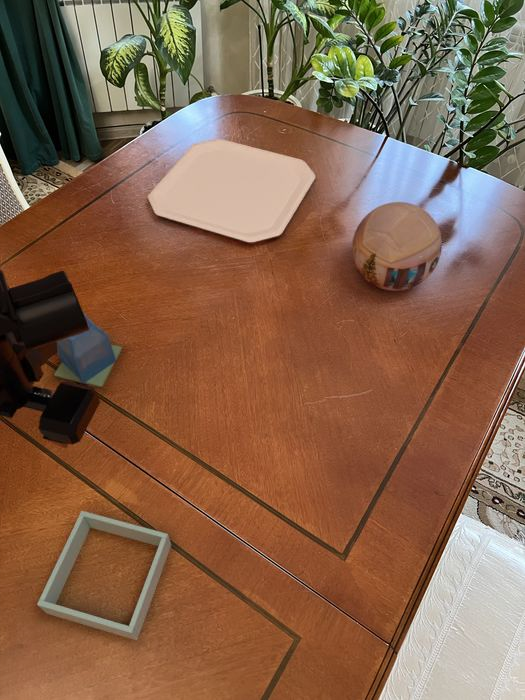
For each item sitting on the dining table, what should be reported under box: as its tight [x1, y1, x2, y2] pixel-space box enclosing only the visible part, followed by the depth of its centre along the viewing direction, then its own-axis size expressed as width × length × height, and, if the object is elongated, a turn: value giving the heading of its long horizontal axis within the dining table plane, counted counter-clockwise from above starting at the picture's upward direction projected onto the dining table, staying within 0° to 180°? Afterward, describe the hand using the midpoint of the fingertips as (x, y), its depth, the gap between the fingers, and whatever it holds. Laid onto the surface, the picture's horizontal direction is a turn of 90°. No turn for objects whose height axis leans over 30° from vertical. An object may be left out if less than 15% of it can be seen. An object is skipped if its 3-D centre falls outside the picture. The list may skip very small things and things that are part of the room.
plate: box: [147, 138, 316, 244], centre depth 118 cm, size 29×29×2 cm
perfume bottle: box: [57, 309, 117, 384], centre depth 86 cm, size 6×6×12 cm
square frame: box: [36, 510, 172, 641], centre depth 69 cm, size 12×12×4 cm
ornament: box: [351, 201, 443, 292], centre depth 98 cm, size 15×15×15 cm
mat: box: [53, 344, 123, 389], centre depth 91 cm, size 8×8×1 cm
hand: (31, 435), depth 69 cm, fingers open, 9 cm apart
